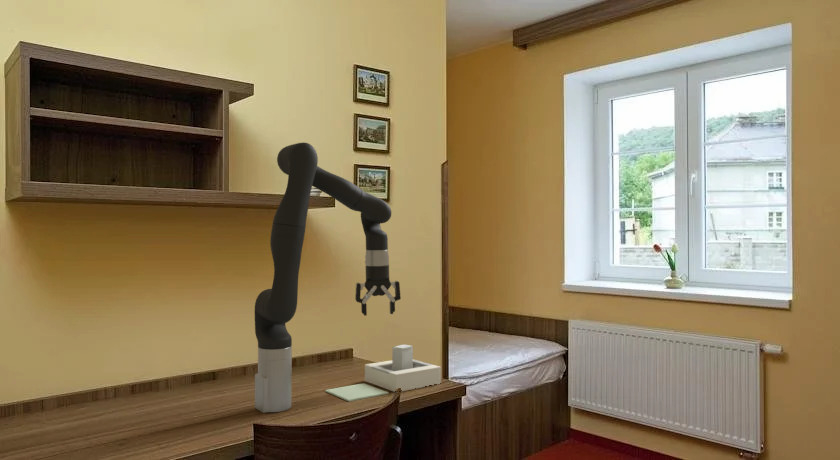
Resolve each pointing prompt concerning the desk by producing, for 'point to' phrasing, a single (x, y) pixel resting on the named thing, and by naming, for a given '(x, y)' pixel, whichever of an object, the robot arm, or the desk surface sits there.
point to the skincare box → (402, 357)
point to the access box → (402, 375)
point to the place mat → (356, 392)
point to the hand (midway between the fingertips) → (378, 314)
